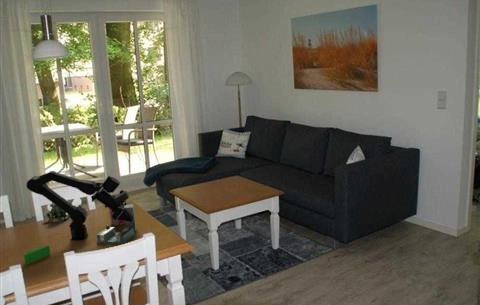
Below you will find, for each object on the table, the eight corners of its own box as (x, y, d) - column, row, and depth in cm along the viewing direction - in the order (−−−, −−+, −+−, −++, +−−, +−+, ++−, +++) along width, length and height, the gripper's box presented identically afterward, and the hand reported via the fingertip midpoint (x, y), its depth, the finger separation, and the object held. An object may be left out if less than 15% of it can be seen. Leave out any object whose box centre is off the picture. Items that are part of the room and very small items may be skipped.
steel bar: (126, 233, 210) (123, 208, 207) (127, 229, 214) (124, 205, 212) (135, 232, 210) (132, 207, 208) (136, 228, 215) (133, 204, 213)
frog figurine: (33, 224, 232) (30, 204, 230) (58, 214, 249) (55, 195, 247) (58, 227, 226) (55, 206, 224) (81, 216, 242) (79, 196, 240)
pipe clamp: (46, 253, 192) (44, 244, 191) (50, 255, 190) (49, 245, 189) (21, 263, 183) (20, 253, 182) (26, 265, 181) (24, 255, 180)
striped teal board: (97, 243, 200) (95, 232, 199) (109, 234, 210) (108, 223, 209) (123, 244, 196) (122, 233, 195) (134, 235, 207) (133, 224, 205)
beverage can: (126, 219, 230) (123, 198, 228) (127, 224, 223) (124, 202, 220) (111, 222, 228) (108, 200, 225) (111, 226, 220) (108, 204, 218)
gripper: (115, 192, 198) (142, 211, 202) (119, 182, 216) (143, 200, 220) (100, 210, 198) (127, 229, 202) (105, 199, 216) (129, 216, 220)
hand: (132, 218), depth 211 cm, fingers open, 8 cm apart
